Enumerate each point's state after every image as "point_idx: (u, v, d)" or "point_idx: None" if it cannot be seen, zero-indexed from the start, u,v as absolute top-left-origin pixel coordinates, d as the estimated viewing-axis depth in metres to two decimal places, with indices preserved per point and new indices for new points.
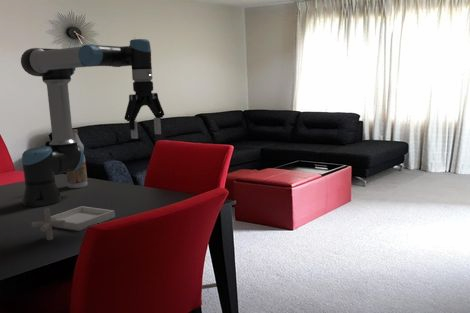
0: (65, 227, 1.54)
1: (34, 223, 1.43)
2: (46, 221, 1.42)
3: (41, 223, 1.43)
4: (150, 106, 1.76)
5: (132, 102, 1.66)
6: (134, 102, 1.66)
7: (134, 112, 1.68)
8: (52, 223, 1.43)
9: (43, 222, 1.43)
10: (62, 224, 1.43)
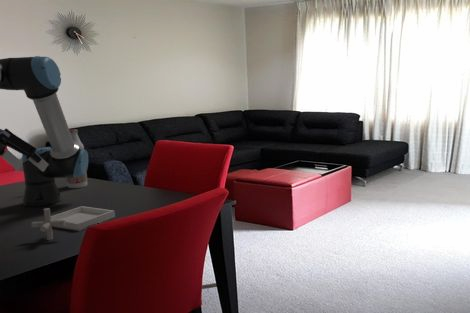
0: (65, 227, 1.54)
1: (34, 223, 1.43)
2: (46, 221, 1.42)
3: (41, 223, 1.43)
4: None
5: None
6: None
7: None
8: (52, 223, 1.43)
9: (43, 222, 1.43)
10: (62, 224, 1.43)
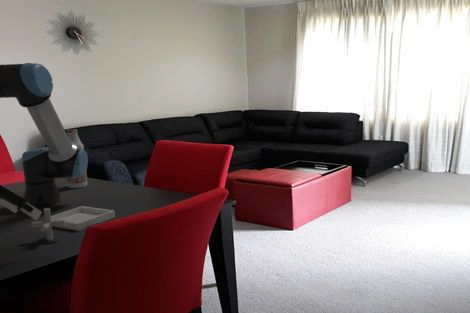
0: (65, 227, 1.54)
1: (34, 223, 1.43)
2: (46, 221, 1.42)
3: (41, 223, 1.43)
4: None
5: None
6: None
7: None
8: (52, 223, 1.43)
9: (43, 222, 1.43)
10: (62, 224, 1.43)
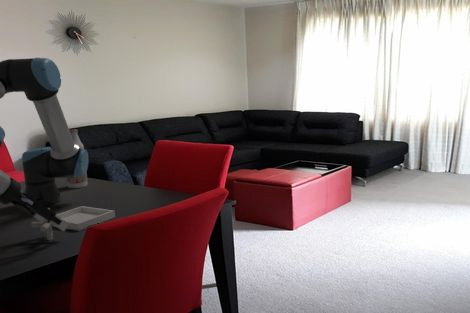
0: None
1: (34, 223, 1.43)
2: (46, 221, 1.42)
3: (41, 223, 1.43)
4: None
5: None
6: None
7: None
8: None
9: (43, 222, 1.43)
10: None
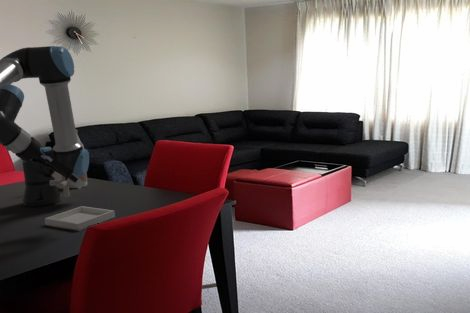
0: (65, 227, 1.54)
1: (52, 181, 1.52)
2: (63, 179, 1.52)
3: (58, 181, 1.52)
4: None
5: None
6: (32, 162, 1.50)
7: None
8: None
9: (60, 180, 1.52)
10: None
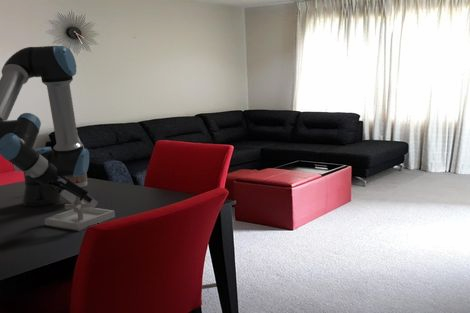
0: (65, 227, 1.54)
1: (67, 205, 1.61)
2: (78, 203, 1.61)
3: (73, 205, 1.61)
4: None
5: None
6: None
7: None
8: (83, 205, 1.61)
9: (75, 204, 1.61)
10: None
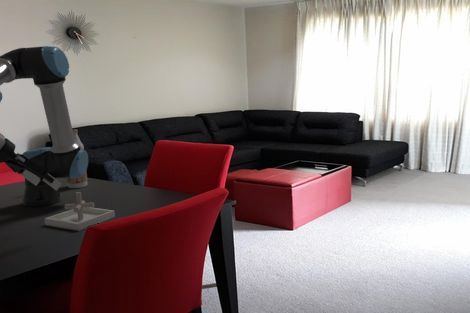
0: (65, 227, 1.54)
1: (67, 205, 1.61)
2: (78, 203, 1.61)
3: (73, 205, 1.61)
4: None
5: None
6: (4, 162, 1.47)
7: None
8: (83, 205, 1.61)
9: (75, 204, 1.61)
10: (92, 206, 1.62)
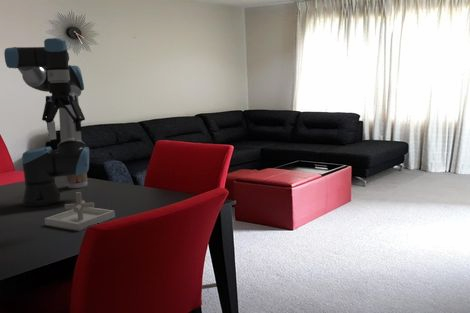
0: (65, 227, 1.54)
1: (67, 205, 1.61)
2: (78, 203, 1.61)
3: (73, 205, 1.61)
4: None
5: None
6: (46, 104, 1.67)
7: None
8: (83, 205, 1.61)
9: (75, 204, 1.61)
10: (92, 206, 1.62)
